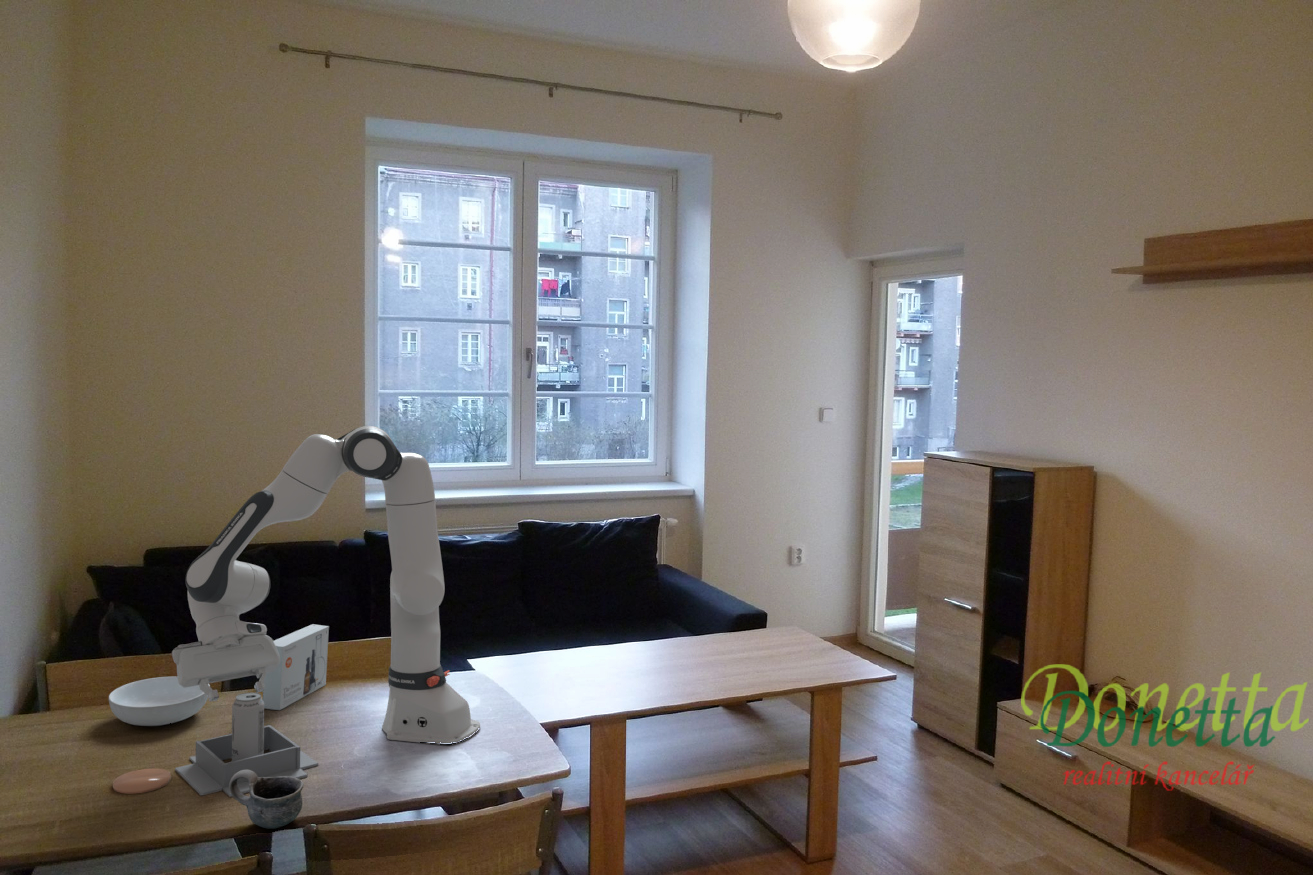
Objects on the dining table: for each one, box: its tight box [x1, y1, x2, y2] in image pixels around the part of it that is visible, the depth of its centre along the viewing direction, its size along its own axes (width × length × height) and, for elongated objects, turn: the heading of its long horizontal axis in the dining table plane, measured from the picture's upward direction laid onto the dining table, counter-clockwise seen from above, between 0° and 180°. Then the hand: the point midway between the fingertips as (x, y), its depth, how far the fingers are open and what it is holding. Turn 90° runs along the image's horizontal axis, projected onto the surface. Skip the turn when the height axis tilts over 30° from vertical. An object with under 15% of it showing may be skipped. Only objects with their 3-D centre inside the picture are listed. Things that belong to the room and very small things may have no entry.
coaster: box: [112, 767, 172, 795], centre depth 188 cm, size 10×10×1 cm
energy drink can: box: [231, 692, 265, 762], centre depth 197 cm, size 6×6×15 cm
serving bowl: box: [108, 675, 211, 727], centre depth 222 cm, size 21×21×7 cm
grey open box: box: [174, 724, 319, 798], centre depth 197 cm, size 23×23×5 cm
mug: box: [229, 770, 305, 830], centre depth 173 cm, size 10×12×10 cm
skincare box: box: [262, 623, 330, 711], centre depth 240 cm, size 21×5×16 cm, turn 168°
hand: (237, 695), depth 200 cm, fingers open, 8 cm apart
